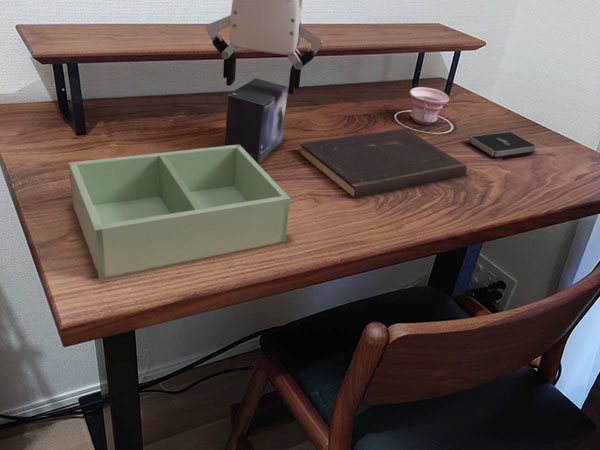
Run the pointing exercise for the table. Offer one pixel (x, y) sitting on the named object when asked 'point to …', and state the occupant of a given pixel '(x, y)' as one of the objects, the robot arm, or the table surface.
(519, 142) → the external hard drive
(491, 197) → the table surface
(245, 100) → the small box
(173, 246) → the caddy
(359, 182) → the hardcover book
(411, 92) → the teacup
